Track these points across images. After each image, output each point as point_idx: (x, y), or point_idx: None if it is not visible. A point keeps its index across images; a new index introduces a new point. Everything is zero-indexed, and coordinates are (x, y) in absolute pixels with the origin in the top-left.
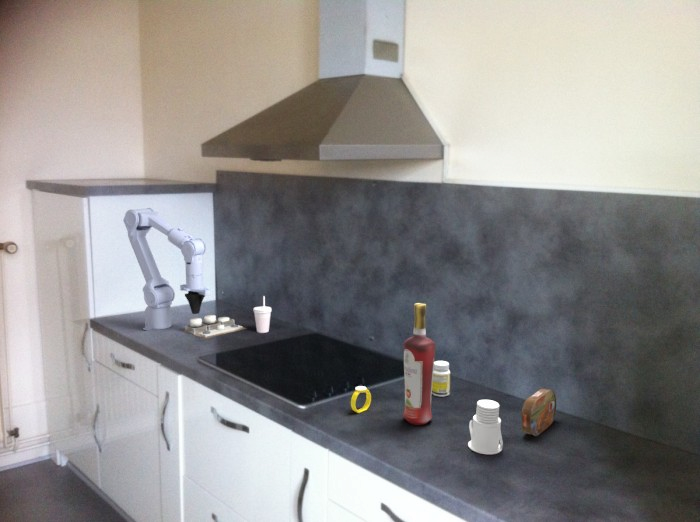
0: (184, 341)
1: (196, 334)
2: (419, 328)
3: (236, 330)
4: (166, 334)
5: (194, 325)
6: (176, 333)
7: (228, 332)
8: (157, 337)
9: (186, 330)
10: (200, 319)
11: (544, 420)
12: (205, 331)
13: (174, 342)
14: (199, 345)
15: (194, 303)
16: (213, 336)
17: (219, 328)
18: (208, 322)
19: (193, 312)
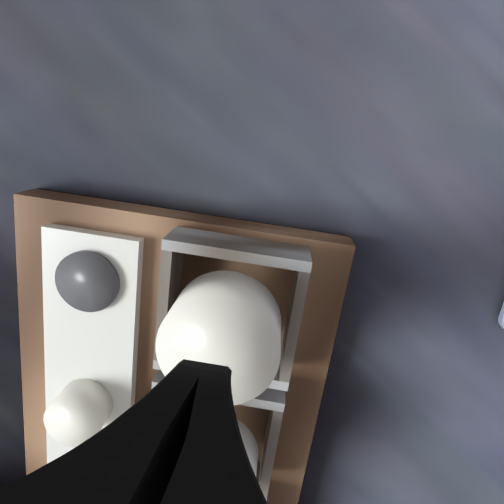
0: (189, 119)
1: (163, 237)
2: None
3: (32, 454)
4: (480, 187)
5: (193, 283)
6: (424, 253)
7: (29, 395)
8: (486, 69)
9: (285, 246)
10: (168, 369)
11: None
12: (109, 292)
13: (232, 44)
14: (9, 106)
15: (71, 458)
16: (17, 267)
17: (66, 389)
18: None
19: (188, 368)
